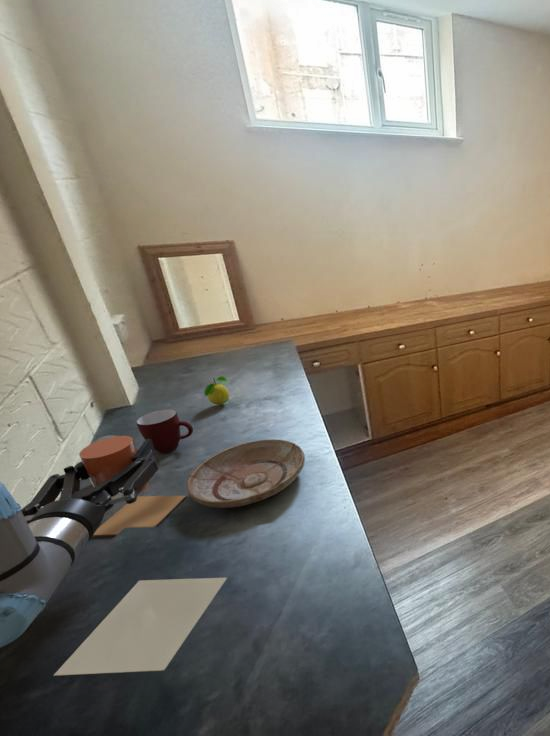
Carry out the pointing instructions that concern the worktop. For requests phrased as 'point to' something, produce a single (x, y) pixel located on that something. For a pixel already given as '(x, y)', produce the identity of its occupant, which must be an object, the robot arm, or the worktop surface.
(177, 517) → the worktop surface
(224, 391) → the lemon
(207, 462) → the ceramic bowl
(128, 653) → the beige paper sheet
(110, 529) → the cork mat
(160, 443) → the mug
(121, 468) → the terracotta cylinder
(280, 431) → the worktop surface
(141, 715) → the worktop surface
